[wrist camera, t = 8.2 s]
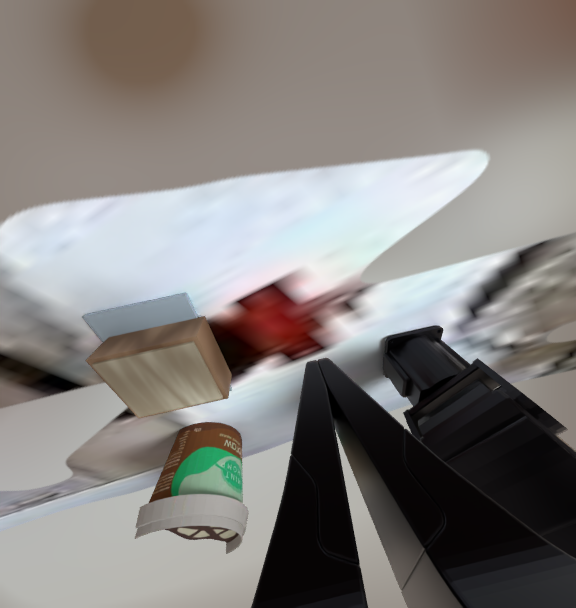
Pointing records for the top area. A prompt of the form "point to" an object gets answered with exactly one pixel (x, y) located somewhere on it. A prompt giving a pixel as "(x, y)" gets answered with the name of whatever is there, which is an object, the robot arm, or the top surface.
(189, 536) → the food container
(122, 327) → the board
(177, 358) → the wooden block
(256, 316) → the top surface
